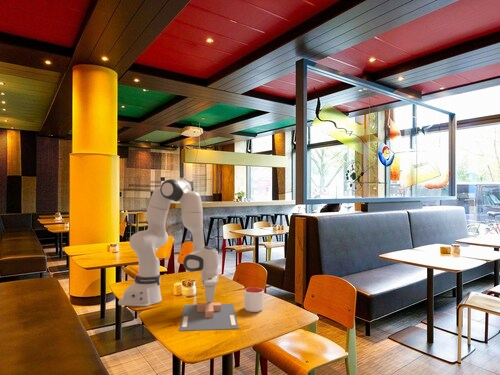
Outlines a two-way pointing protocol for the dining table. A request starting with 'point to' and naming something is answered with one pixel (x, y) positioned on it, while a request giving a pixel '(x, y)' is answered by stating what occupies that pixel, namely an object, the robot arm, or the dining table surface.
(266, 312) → the dining table surface
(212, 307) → the t block
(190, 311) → the mat
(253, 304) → the cup
